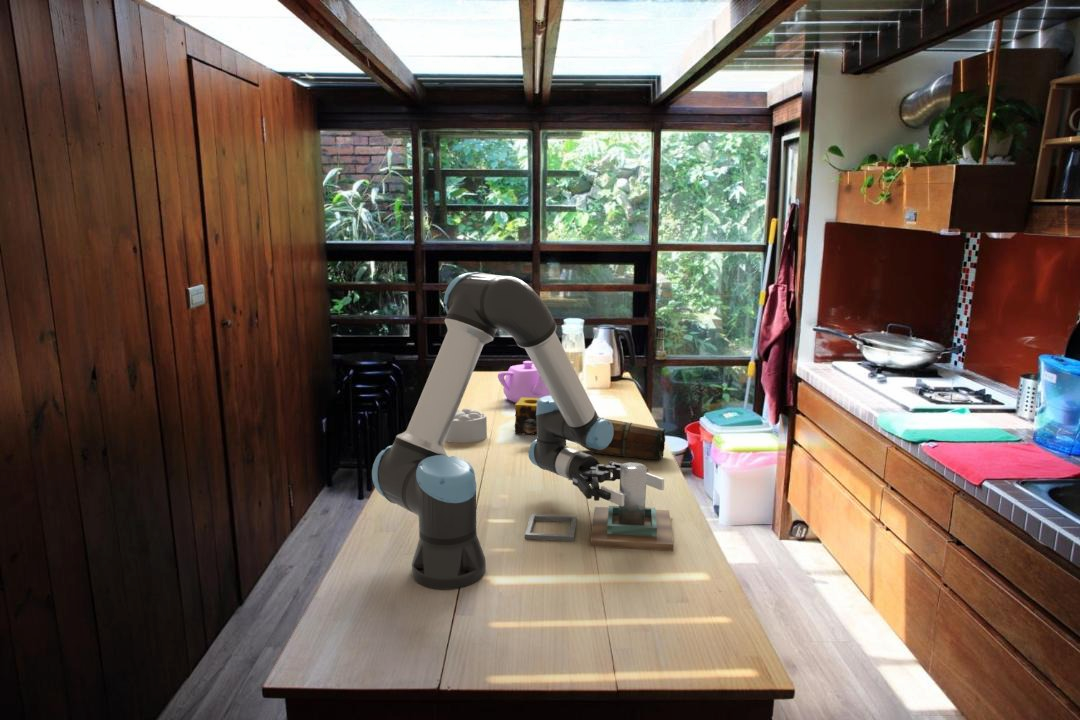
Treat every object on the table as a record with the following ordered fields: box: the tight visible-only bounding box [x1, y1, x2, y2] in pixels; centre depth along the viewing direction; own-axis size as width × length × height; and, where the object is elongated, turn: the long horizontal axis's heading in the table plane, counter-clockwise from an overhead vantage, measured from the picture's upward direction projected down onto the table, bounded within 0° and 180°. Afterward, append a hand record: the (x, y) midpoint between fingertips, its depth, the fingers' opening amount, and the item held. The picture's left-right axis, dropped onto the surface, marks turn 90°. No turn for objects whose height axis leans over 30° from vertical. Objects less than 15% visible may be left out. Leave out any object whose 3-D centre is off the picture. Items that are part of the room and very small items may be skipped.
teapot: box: [497, 360, 551, 404], centre depth 275 cm, size 23×21×15 cm
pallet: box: [590, 505, 674, 552], centre depth 170 cm, size 18×18×4 cm
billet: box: [618, 462, 648, 526], centre depth 169 cm, size 6×6×14 cm
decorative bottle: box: [521, 418, 666, 461], centre depth 222 cm, size 11×11×45 cm
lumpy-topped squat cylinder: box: [445, 407, 488, 444], centre depth 236 cm, size 10×13×9 cm
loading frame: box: [524, 513, 578, 542], centre depth 171 cm, size 11×11×1 cm
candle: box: [514, 397, 539, 436], centre depth 243 cm, size 10×10×10 cm
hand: (643, 492), depth 166 cm, fingers open, 13 cm apart
